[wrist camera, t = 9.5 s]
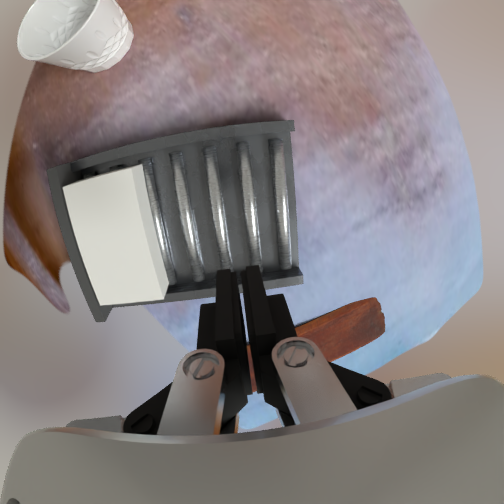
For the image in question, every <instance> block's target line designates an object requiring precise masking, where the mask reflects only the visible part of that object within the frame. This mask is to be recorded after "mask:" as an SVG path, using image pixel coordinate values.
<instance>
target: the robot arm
mask: <svg viewBox="0 0 504 504" xmlns="http://www.w3.org/2000/svg"><path fill="white" fill-rule="evenodd" d="M245 268H246V270H242V271H241V280H242V288H243V297H244V305H245V313H246V321H247V329H248V337H249V344H250V350H251V357H252V363H253V369H254V375H255V382H256V388H257V394H259V393H263V394H264V400H265V402H266V403H268V404H270V405H272V406H273V407H275V408H276V412H277V415H278V417H279V420H280V423H281V425H282V428H276V429H269V430H262V431H254V432H245V433H238V424H239V411H240V410H241V409H242V408H243V407H244V406H245V405H246V403H248V399H247V395H251V394H253V393H252V384H251V376H250V368H249V360H248V351H247V342H246V334H245V326H244V319H243V313H242V306H241V300H240V293H239V287H238V280H237V273H236V271H234V272H231V269H230V268H229V269H222V270H217V275H216V303H208V304H201V307H200V317H199V328H198V339H197V350H194V351H191V352H190V353H188V354H186V355H185V356H184V357H183V358H182V359H181V361H180V362H179V365H178V368H177V371H176V374H175V377H174V380H173V382H172V383H170V384H169V385H168V386H166V387H165V388H164V389H162V390H161V391H160V392H159V393H157V394H156V395H154V396H153V397H152V398H150V399H149V400H148V401H146V402H145V403H143V404H142V405H141V406H139V407H138V408H137V409H135V410H134V411H132V412H131V413H130V414H129V415H128V416H127V417H126V418H122V417H121V416H120V415H119V416H112V417H104V418H94V419H83V420H74V421H71V422H70V423H68V424H67V426H66V427H53V428H45V429H39V430H36V431H33V432H30V433H28V434H26V435H25V436H24V437H23V438H22V439H21V440H20V441H19V443H18V444H17V446H16V448H15V450H14V453H13V455H12V458H11V460H10V463H9V466H8V469H7V473H6V476H5V480H4V485H3V490H2V494H1V501H0V504H504V384H503V383H502V382H500V381H499V380H498V379H496V378H494V377H492V376H489V375H479V374H476V375H464V376H458V377H453V378H451V377H450V376H448V375H446V374H443V373H436V374H431V375H425V376H419V377H413V378H407V379H400V380H392V381H391V382H390V384H384V383H382V382H380V381H378V380H375V379H373V378H370V377H367V376H365V375H362V374H359V373H357V372H354V371H351V370H349V369H346V368H344V367H341V366H339V365H336V364H334V363H331V362H329V361H327V360H326V359H325V357H324V356H323V354H322V352H321V351H320V349H319V348H318V346H317V345H316V344H315V343H314V342H313V341H311V340H309V339H307V338H303V337H298V336H297V333H296V330H295V327H294V324H293V321H292V318H291V315H290V312H289V309H288V306H287V303H286V300H285V297H284V295H283V294H276V295H270V296H266V292H265V288H264V283H263V279H262V275H261V271H260V267H259V265H252V266H245Z"/></svg>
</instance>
